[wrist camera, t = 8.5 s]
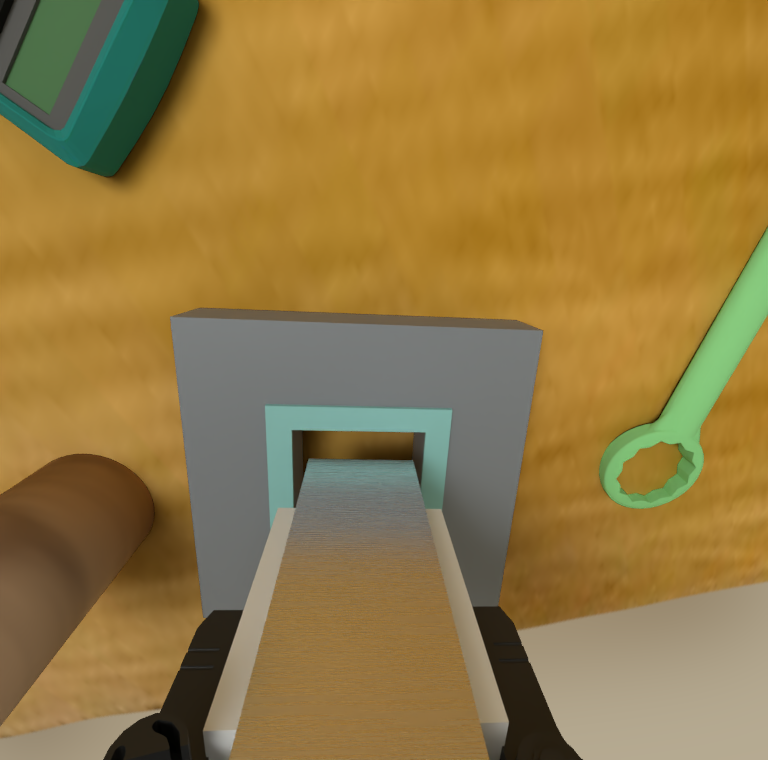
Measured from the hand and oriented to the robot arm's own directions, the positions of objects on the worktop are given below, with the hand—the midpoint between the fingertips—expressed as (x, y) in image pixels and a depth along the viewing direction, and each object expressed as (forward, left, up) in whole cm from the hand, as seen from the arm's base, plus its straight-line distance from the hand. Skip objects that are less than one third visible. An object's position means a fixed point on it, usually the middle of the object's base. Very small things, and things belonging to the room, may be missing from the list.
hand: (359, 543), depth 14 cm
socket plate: (0, 0, -6) cm, 6 cm away
